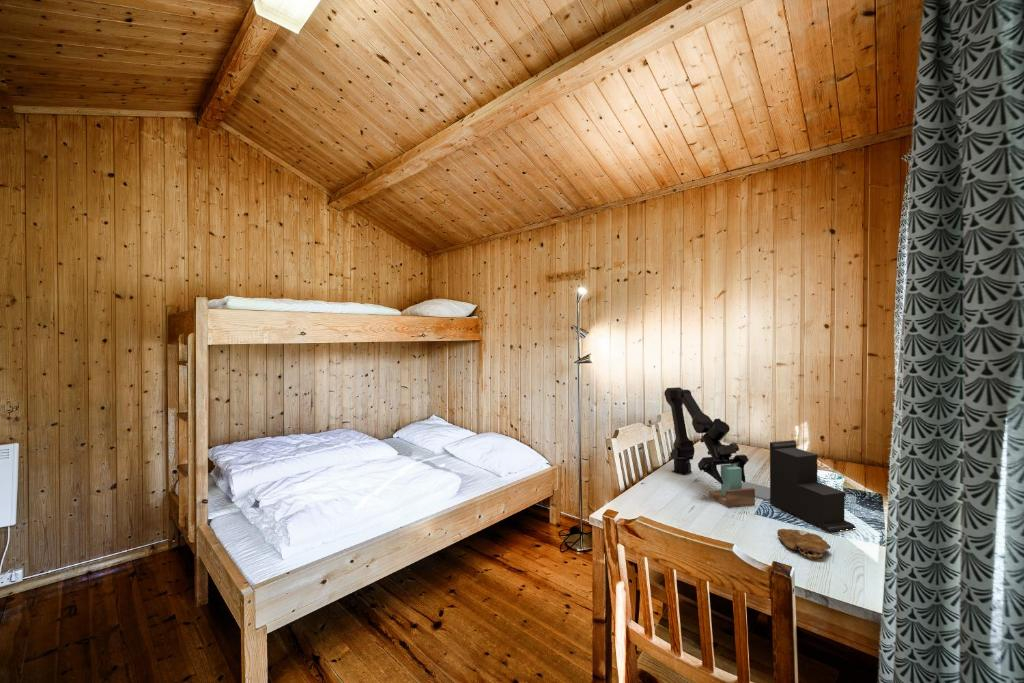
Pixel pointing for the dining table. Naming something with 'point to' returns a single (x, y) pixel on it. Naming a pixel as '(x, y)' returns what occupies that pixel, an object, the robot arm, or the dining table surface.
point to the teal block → (730, 478)
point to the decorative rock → (804, 542)
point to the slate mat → (758, 490)
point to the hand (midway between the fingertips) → (733, 482)
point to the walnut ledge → (735, 497)
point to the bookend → (804, 488)
